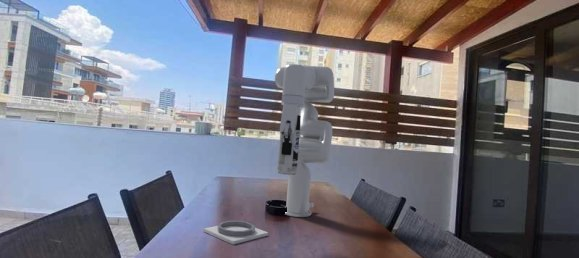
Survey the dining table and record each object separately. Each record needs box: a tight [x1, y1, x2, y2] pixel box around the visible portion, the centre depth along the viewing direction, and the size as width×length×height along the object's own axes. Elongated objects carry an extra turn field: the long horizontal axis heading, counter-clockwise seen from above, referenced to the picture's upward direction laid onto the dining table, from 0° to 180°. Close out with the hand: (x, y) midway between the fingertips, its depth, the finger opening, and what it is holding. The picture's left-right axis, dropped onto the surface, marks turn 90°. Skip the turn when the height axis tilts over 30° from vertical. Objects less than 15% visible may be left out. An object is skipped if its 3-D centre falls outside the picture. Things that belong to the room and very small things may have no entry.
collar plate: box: [203, 220, 269, 245], centre depth 115 cm, size 15×15×2 cm
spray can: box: [276, 115, 301, 176], centre depth 118 cm, size 7×7×20 cm
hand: (288, 153), depth 118 cm, fingers closed on spray can, 6 cm apart
